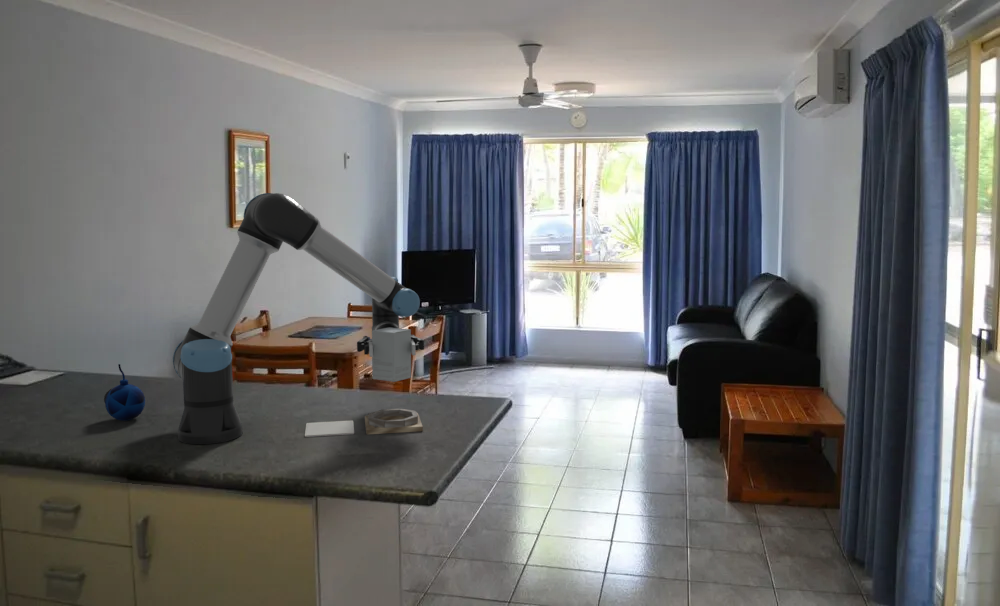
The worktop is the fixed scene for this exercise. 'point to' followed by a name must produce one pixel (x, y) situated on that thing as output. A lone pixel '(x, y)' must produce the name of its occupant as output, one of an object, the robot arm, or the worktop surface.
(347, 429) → the coaster
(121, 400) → the bomb
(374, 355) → the supplement box
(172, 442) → the worktop surface
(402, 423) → the ring stand
